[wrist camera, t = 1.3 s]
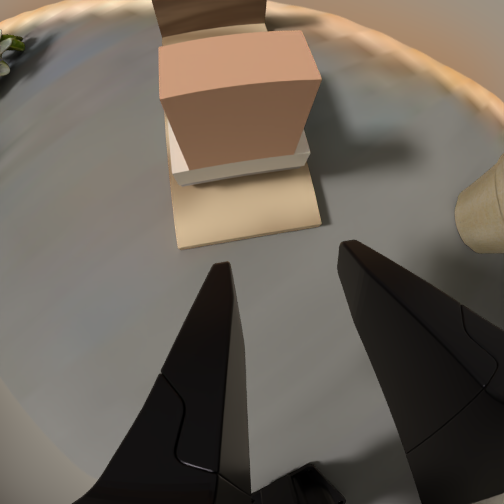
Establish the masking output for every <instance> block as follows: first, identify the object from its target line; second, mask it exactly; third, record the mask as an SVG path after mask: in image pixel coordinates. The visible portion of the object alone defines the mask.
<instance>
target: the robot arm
mask: <svg viewBox="0 0 504 504" xmlns="http://www.w3.org/2000/svg"><path fill="white" fill-rule="evenodd" d="M337 270H338V275H339V278H340V281H341V284H342V287H343V290H344V293H345V296H346V299H347V302H348V306H349V309H350V312H351V315H352V318H353V321H354V324H355V326H356V329H357V331H358V333H359V336H360V338H361V340H362V343H363V345H364V347H365V350H366V352H367V354H368V357H369V359H370V361H371V364H372V366H373V369H374V371H375V374H376V376H377V378H378V381H379V383H380V386H381V388H382V391H383V394H384V396H385V399H386V401H387V404H388V406H389V409H390V412H391V414H392V417H393V420H394V422H395V425H396V428H397V430H398V433H399V436H400V439H401V442H402V444H403V447H404V450H405V453H406V456H407V459H408V462H409V465H410V468H411V471H412V474H413V477H414V481H415V484H416V487H417V490H418V493H419V497H420V500H421V503H422V504H504V331H503V330H502V329H500V328H498V327H497V326H495V325H493V324H492V323H490V322H488V321H487V320H485V319H484V318H482V317H481V316H479V315H478V314H476V313H474V312H473V311H471V310H470V309H468V308H467V307H465V306H464V305H460V303H459V302H458V301H456V300H455V299H453V298H452V297H450V296H448V295H447V294H445V293H444V292H442V291H441V290H439V289H437V288H436V287H434V286H433V285H431V284H430V283H428V282H426V281H425V280H423V279H422V278H420V277H418V276H417V275H415V274H413V273H412V272H410V271H408V270H407V269H405V268H403V267H402V266H400V265H398V264H397V263H395V262H393V261H392V260H390V259H388V258H387V257H385V256H383V255H382V254H380V253H378V252H376V251H375V250H373V249H371V248H370V247H368V246H366V245H364V244H363V243H361V242H359V241H357V240H349V241H343V242H341V243H340V246H339V255H338V264H337ZM161 373H162V374H161ZM161 373H160V374H159V375H158V377H157V379H156V381H155V384H154V386H153V388H152V390H151V392H150V394H149V396H148V398H147V400H146V402H145V404H144V406H143V408H142V409H141V411H140V413H139V414H138V416H137V418H136V420H135V421H134V423H133V425H132V426H131V428H130V430H129V431H128V433H127V435H126V436H125V438H124V439H123V441H122V443H121V444H120V446H119V448H118V449H117V451H116V452H115V454H114V456H113V457H112V459H111V461H110V462H109V464H108V465H107V467H106V469H105V470H104V472H103V474H102V475H101V477H100V478H99V479H98V481H97V482H96V483H95V485H94V486H93V487H92V488H91V489H90V490H89V491H88V492H87V493H86V494H85V495H83V496H82V497H81V498H79V499H78V500H76V501H75V502H74V503H72V504H345V503H346V500H345V498H344V497H343V496H342V495H341V494H340V493H339V492H338V491H337V490H336V489H335V488H334V486H333V485H332V484H331V483H330V482H329V481H328V480H327V479H326V478H325V477H324V476H323V475H322V474H321V473H320V472H319V471H318V470H317V469H316V467H315V466H314V465H312V464H307V465H305V466H303V467H301V468H300V469H298V470H296V471H294V472H293V473H291V474H289V475H287V476H284V477H283V478H281V479H279V480H277V481H275V482H273V483H271V484H269V485H268V486H266V487H264V488H262V489H261V490H259V491H257V492H255V493H253V494H251V479H250V458H249V437H248V414H247V390H246V365H245V346H244V338H243V332H242V326H241V320H240V314H239V308H238V302H237V296H236V290H235V285H234V279H233V274H232V269H231V264H230V262H228V261H227V262H221V263H215V264H213V266H212V267H211V269H210V271H209V273H208V275H207V277H206V279H205V281H204V283H203V285H202V287H201V289H200V291H199V293H198V295H197V297H196V299H195V301H194V303H193V305H192V307H191V309H190V311H189V313H188V315H187V317H186V319H185V321H184V323H183V326H182V328H181V330H180V332H179V334H178V336H177V338H176V340H175V342H174V344H173V346H172V348H171V350H170V352H169V354H168V356H167V359H166V361H165V363H164V365H163V367H162V369H161ZM307 469H311V470H310V471H306V470H307ZM252 499H253V501H252ZM339 501H341V502H339Z"/></svg>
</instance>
